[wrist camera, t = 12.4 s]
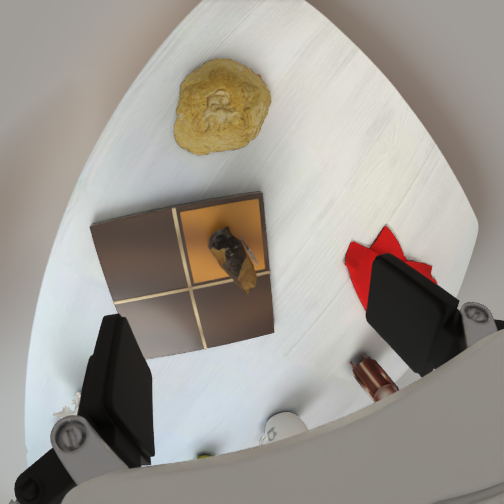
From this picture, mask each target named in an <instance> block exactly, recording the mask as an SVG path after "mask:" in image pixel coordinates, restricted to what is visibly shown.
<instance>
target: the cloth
mask: <svg viewBox="0 0 504 504" xmlns="http://www.w3.org/2000/svg"><path fill="white" fill-rule="evenodd" d="M385 253H391V254H393V255H394V256H396V257H397V258H399V259H400V260H402V261H403V262H405V263H406V264H408V265H409V266H411V267H412V268H414V269H415V270H417V271H418V272H420V273H421V274H423V275H424V276H425V277H427V278H428V279H430V280H431V281H433V282H434V283H436V284H437V282H436V281H435V280H434V279H433V278H432V275H431V270H432V266H430V265H427V264H424V263H419V262H414V261H408V260H407V259H406V257H405V256H404V254H403V251H402V249H401V247H400V244H399V242H398V241H397V239H396V238H395V236H394V235H393V233H392V232H391V231H390V230H389V228H388V227H387V226H386V227H384V228H383V230H382V232H381V233H380V235H379V237H378V238H377V240H376V242H375V243H374V244H373V245H372V246H371V248H370V249H368V248H366V247H364V246H362V245H360V244H358V243H355V242H353V241H352V242H351V243H350V246H349V248H348V251H347V253H346V262H345V265H346V266H347V267H348V269H349V273H350V277H351V280H352V283H353V285H354V288H355V290H356V293H357V295H358V297H359V299H360V301H361V303H362V305H363V307H364V308H365V310H366V309H367V302H368V295H369V287H370V278H371V269H372V262H373V261H374V260H375V257H376V256H378V255H381V254H385Z"/></svg>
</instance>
